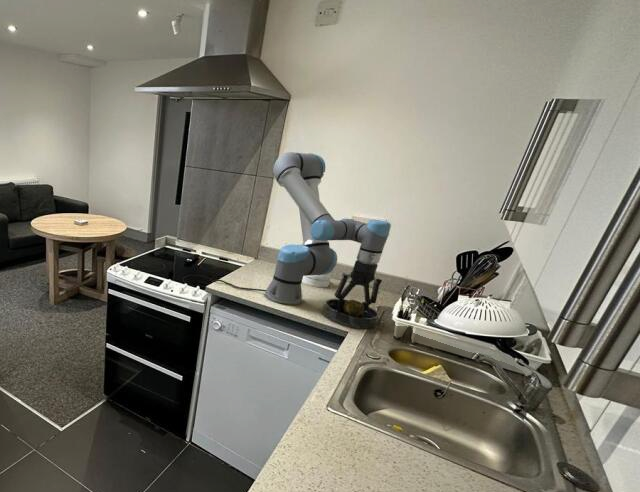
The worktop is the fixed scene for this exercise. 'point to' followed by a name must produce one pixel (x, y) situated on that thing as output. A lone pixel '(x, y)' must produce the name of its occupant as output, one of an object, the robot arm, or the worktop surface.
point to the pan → (341, 318)
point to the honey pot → (317, 280)
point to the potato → (353, 308)
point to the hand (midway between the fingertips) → (348, 316)
